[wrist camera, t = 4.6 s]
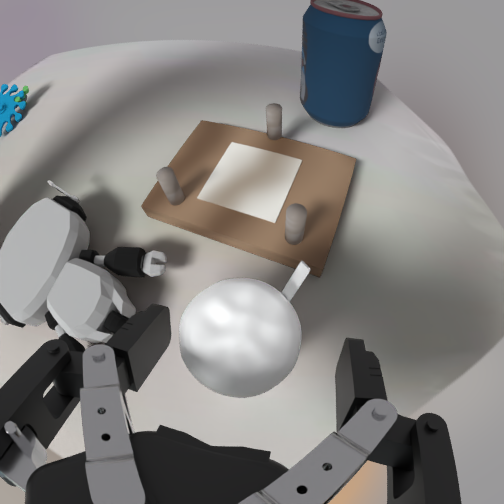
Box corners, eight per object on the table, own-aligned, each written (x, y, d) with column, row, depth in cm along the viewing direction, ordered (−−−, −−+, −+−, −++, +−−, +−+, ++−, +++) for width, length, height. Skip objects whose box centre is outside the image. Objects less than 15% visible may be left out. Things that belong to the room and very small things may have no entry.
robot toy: (187, 266, 22) (65, 199, 24) (172, 241, 18) (42, 173, 20) (110, 406, 18) (3, 304, 20) (78, 411, 13) (-28, 290, 16)
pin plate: (147, 216, 23) (125, 183, 19) (207, 127, 27) (198, 91, 22) (320, 277, 20) (331, 249, 16) (354, 165, 24) (365, 127, 19)
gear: (-14, 147, 30) (-30, 105, 26) (-5, 155, 35) (-22, 116, 31) (38, 107, 34) (19, 68, 30) (41, 119, 39) (23, 83, 35)
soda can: (380, 121, 26) (406, 19, 15) (328, 141, 25) (344, 21, 14) (337, 86, 29) (348, -8, 18) (286, 101, 28) (285, -4, 17)
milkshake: (314, 349, 18) (355, 315, 9) (248, 403, 17) (220, 429, 8) (267, 297, 19) (261, 218, 10) (203, 349, 18) (136, 314, 9)
